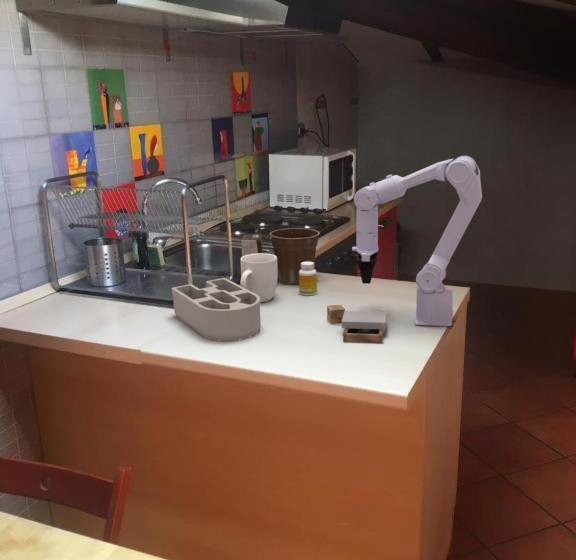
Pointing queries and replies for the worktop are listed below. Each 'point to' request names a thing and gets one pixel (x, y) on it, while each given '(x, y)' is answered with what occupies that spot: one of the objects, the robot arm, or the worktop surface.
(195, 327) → the compartment caddy
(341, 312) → the beech block
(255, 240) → the coffee box
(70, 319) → the worktop surface
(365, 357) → the worktop surface
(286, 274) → the plant pot
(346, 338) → the frame
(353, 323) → the lid
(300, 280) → the supplement bottle
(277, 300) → the worktop surface
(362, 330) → the teal disc
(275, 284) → the mug
